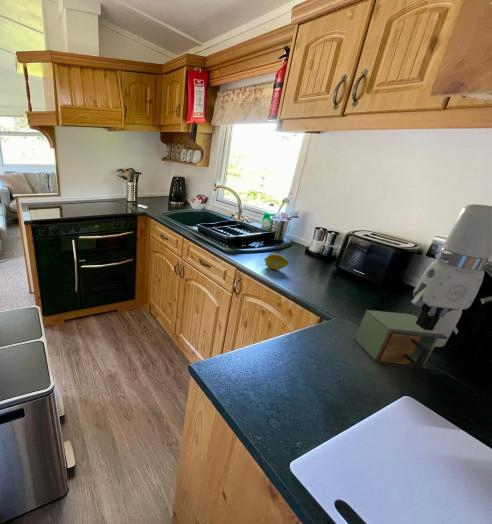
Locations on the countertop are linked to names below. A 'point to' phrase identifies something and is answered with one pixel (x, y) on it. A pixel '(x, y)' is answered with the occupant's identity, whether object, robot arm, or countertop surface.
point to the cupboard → (382, 328)
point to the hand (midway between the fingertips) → (423, 327)
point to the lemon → (276, 261)
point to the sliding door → (405, 350)
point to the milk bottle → (447, 325)
